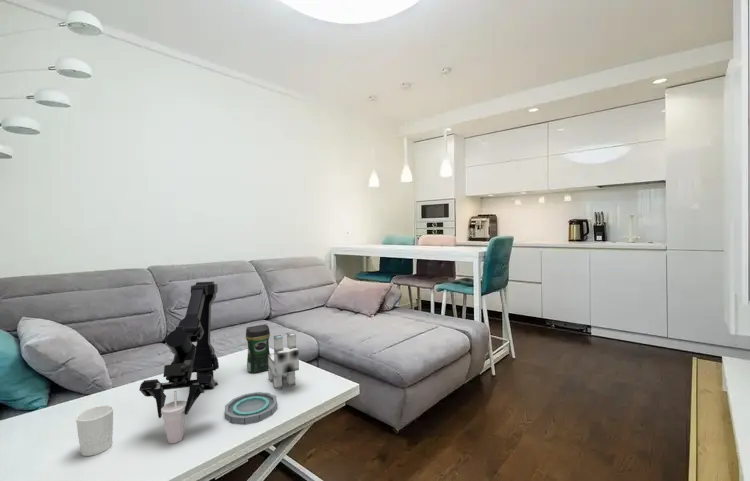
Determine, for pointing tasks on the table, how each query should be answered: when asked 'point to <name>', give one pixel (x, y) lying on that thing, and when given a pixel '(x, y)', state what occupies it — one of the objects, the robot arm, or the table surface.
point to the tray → (250, 408)
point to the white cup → (95, 430)
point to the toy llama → (283, 361)
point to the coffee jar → (257, 348)
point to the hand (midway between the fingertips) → (172, 416)
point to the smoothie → (174, 419)
